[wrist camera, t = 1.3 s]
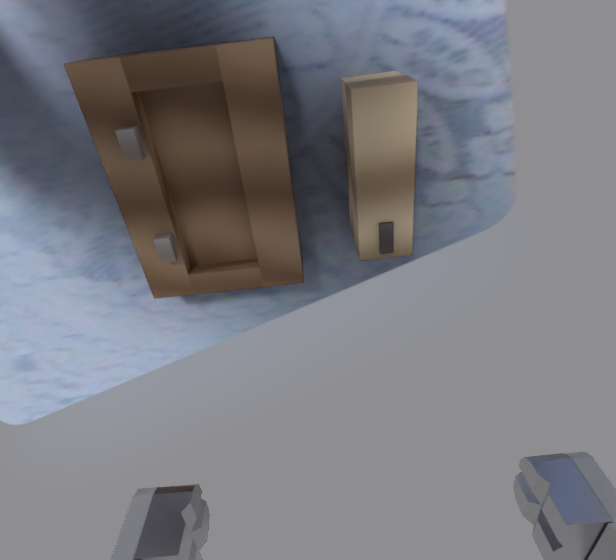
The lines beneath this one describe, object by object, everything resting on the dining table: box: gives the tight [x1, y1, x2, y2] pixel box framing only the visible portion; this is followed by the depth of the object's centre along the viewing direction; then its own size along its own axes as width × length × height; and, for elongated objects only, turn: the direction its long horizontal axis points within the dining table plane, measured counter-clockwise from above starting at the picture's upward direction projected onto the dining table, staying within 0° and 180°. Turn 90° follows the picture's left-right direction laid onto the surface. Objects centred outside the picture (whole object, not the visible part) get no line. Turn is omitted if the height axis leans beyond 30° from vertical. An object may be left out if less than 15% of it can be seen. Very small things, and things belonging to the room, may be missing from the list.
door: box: [341, 71, 418, 261], centre depth 30 cm, size 12×4×6 cm, turn 7°
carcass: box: [64, 37, 304, 299], centre depth 30 cm, size 18×13×4 cm
